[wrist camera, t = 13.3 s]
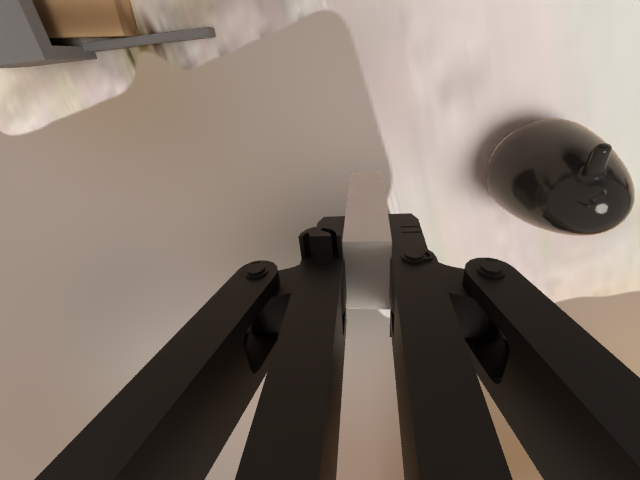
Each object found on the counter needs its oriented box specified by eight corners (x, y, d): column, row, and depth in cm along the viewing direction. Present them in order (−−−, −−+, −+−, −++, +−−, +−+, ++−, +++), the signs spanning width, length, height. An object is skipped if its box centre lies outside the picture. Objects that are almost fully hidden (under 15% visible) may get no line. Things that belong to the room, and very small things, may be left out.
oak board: (13, -3, 35) (-14, -8, 33) (130, -8, 34) (110, -13, 31) (30, 39, 37) (6, 38, 35) (141, 37, 36) (123, 35, 33)
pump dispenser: (574, 96, 33) (709, 124, 20) (571, 186, 38) (679, 256, 25) (471, 127, 36) (531, 170, 23) (480, 207, 41) (534, 281, 28)
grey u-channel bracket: (-17, -16, 35) (-97, -31, 29) (196, -52, 31) (155, -78, 25) (24, 67, 39) (-38, 69, 33) (217, 44, 35) (186, 42, 29)
